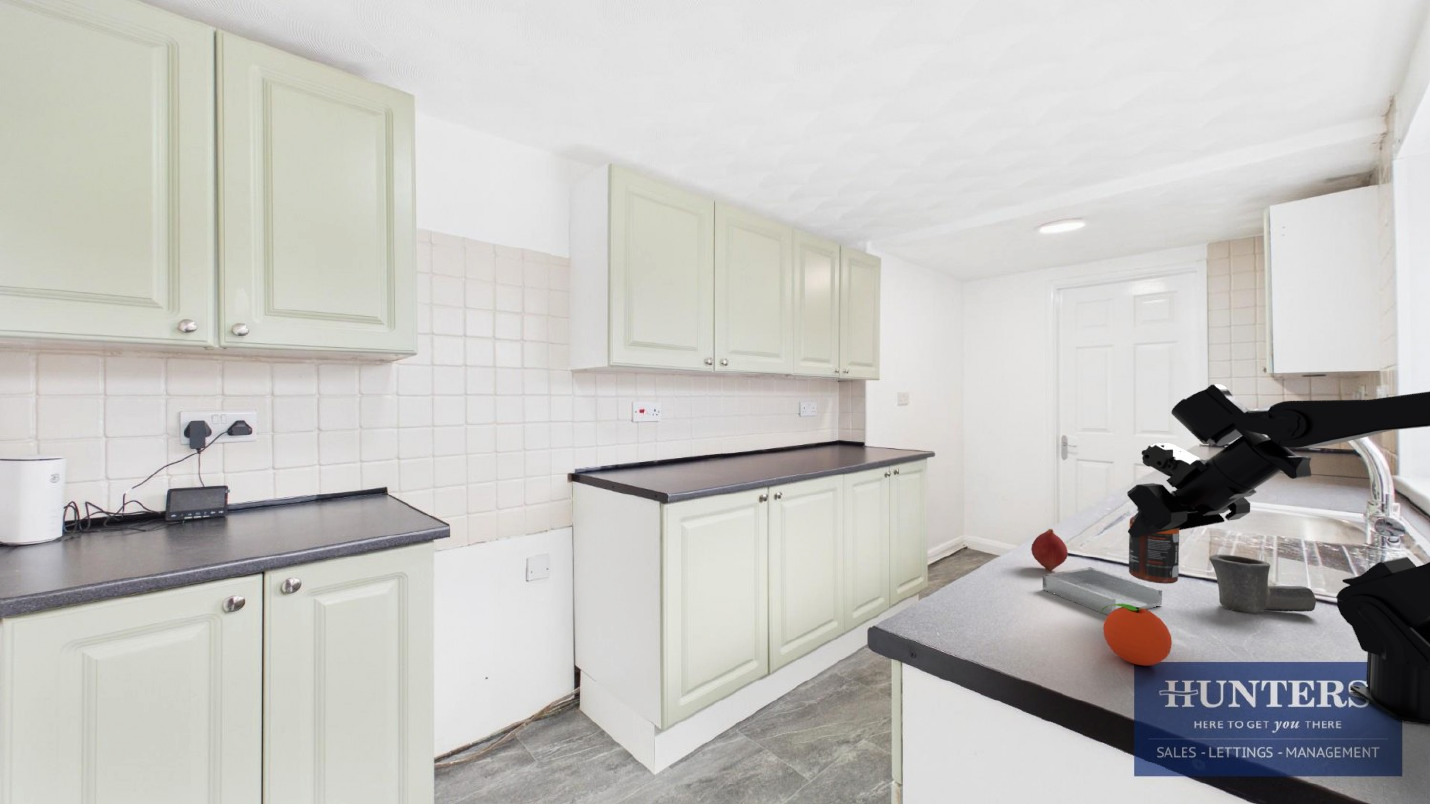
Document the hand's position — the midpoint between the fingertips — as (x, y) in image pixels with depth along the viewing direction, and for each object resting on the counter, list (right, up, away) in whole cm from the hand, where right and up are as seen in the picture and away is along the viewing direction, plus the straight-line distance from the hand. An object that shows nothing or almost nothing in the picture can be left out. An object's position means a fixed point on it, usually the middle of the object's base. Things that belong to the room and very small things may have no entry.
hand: (1144, 532), depth 85 cm
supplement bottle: (0, -7, -1) cm, 7 cm away
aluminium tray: (-2, -12, +6) cm, 14 cm away
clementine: (-13, -13, -14) cm, 23 cm away
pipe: (+19, -13, +2) cm, 23 cm away
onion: (-3, -12, +20) cm, 24 cm away
